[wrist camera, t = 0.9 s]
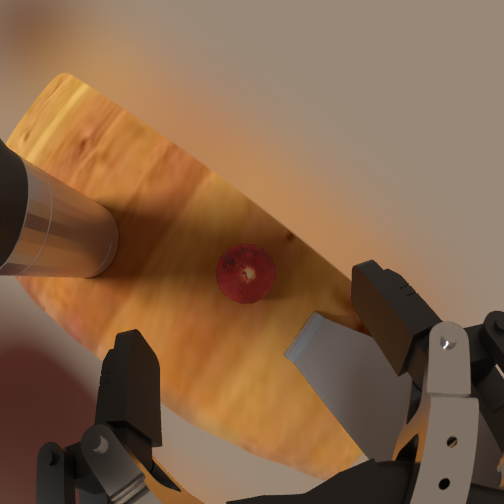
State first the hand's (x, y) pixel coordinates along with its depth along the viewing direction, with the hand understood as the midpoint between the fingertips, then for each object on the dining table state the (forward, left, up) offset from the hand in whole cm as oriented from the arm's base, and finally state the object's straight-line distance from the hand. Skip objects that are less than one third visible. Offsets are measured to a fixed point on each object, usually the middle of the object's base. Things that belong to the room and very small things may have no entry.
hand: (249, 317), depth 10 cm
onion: (0, +2, -22) cm, 22 cm away
